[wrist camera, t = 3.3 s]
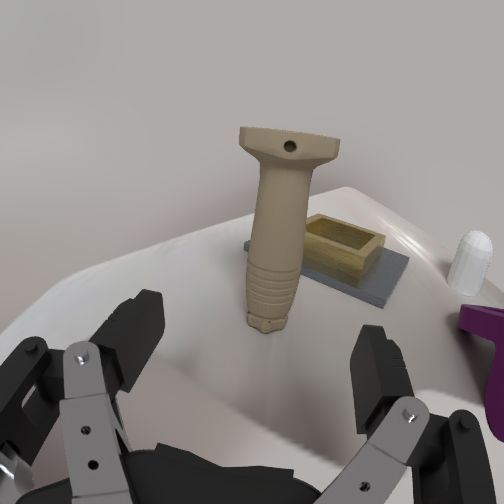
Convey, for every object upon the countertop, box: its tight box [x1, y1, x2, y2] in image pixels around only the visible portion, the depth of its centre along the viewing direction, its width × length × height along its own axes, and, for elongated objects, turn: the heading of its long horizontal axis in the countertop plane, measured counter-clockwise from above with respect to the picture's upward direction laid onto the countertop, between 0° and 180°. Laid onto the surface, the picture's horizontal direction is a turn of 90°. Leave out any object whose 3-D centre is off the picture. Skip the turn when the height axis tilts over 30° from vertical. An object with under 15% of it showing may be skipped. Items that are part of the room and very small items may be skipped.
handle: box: [239, 127, 340, 333], centre depth 21 cm, size 5×6×15 cm
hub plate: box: [244, 214, 410, 309], centre depth 36 cm, size 18×14×4 cm
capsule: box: [446, 230, 493, 297], centre depth 30 cm, size 5×5×8 cm
